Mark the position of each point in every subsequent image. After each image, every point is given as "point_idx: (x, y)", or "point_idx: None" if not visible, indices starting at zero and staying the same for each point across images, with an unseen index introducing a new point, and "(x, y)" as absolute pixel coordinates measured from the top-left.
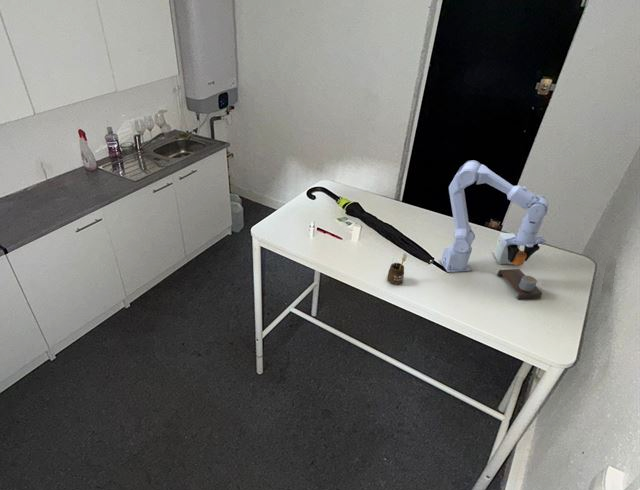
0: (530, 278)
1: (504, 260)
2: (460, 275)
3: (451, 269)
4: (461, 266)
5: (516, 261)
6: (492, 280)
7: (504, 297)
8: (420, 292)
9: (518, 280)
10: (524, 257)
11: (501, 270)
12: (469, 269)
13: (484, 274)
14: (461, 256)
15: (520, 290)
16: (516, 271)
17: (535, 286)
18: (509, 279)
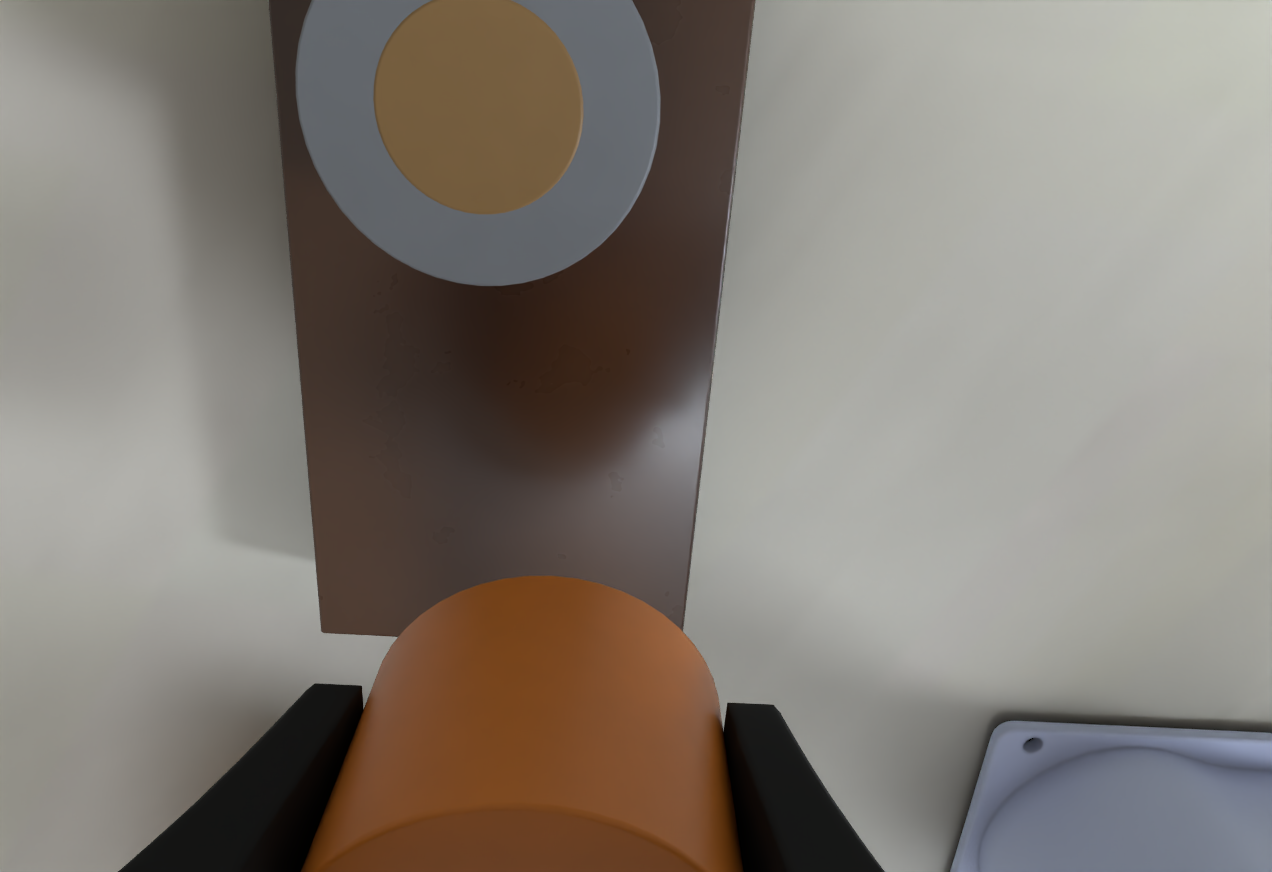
0: (424, 149)
1: None
2: (1206, 652)
3: (1266, 772)
4: (1186, 800)
5: (671, 685)
6: (831, 483)
7: (959, 14)
8: None
9: (526, 335)
10: (463, 778)
11: None
12: (1013, 742)
13: (849, 625)
14: None
15: (688, 13)
16: (407, 576)
17: (290, 92)
18: (675, 390)
